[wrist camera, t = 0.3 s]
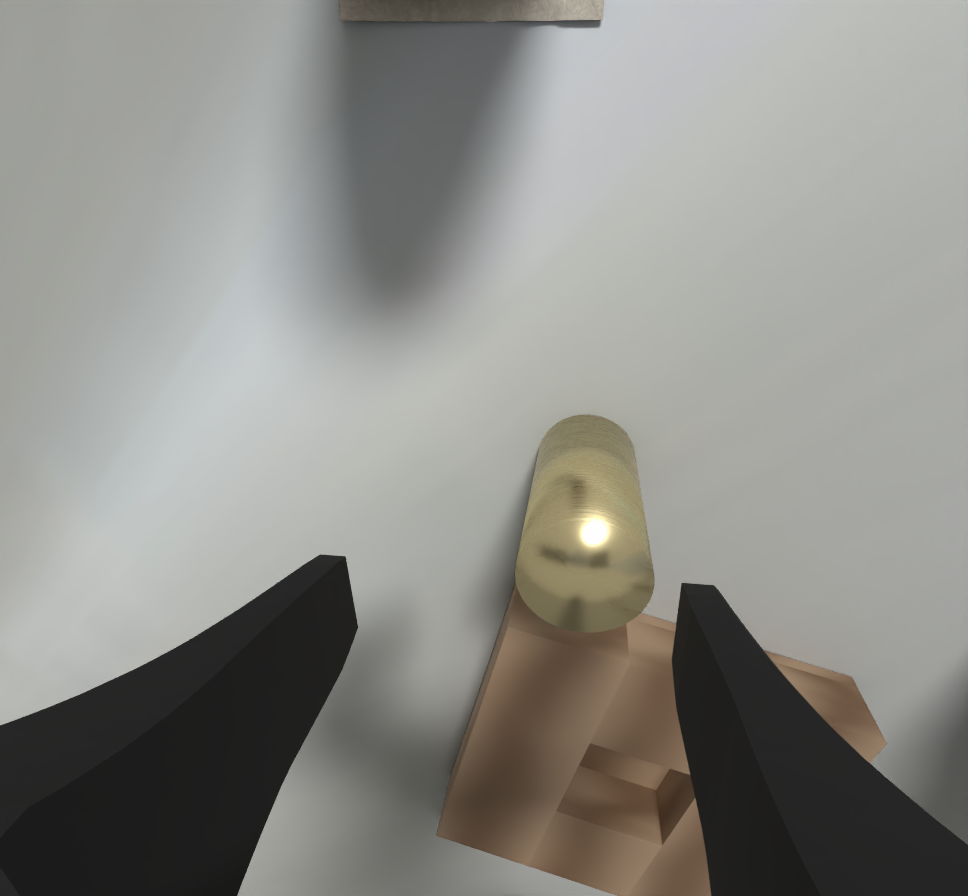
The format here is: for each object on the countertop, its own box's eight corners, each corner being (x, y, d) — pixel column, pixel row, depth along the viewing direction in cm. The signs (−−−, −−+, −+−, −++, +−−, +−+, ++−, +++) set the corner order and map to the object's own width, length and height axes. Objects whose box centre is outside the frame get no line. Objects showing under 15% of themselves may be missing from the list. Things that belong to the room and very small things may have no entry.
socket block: (851, 677, 23) (886, 743, 20) (709, 860, 29) (721, 929, 26) (517, 575, 23) (508, 626, 21) (450, 776, 30) (436, 835, 27)
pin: (649, 430, 20) (676, 546, 13) (616, 511, 21) (626, 648, 15) (553, 403, 20) (535, 504, 14) (527, 485, 21) (500, 609, 15)
